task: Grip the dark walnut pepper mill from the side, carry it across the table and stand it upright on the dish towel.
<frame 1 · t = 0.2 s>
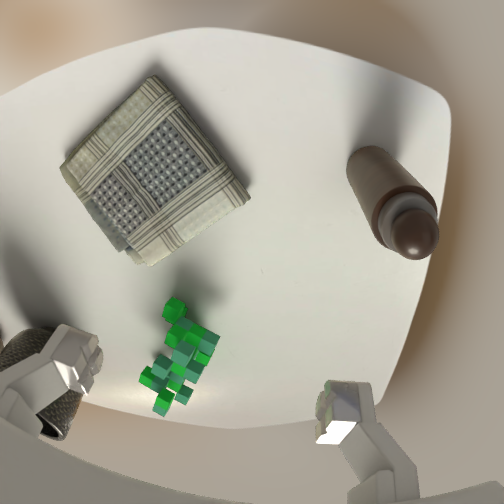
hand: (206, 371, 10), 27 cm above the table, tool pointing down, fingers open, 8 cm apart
dish towel: (146, 177, 35), on the table
planter: (61, 343, 57), on the table
pepper mill: (371, 170, 32), on the table
building blocks: (185, 336, 49), on the table
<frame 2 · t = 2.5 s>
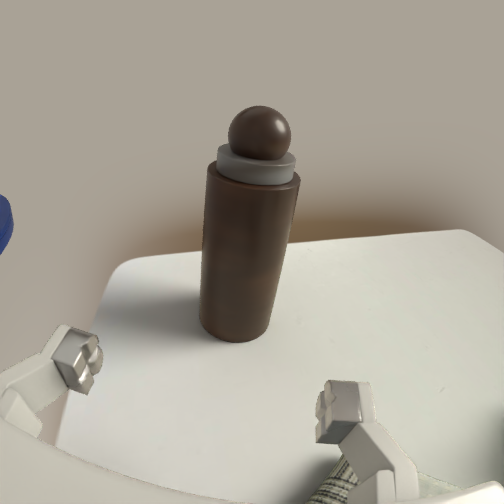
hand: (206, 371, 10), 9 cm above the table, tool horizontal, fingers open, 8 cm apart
pepper mill: (234, 316, 25), on the table
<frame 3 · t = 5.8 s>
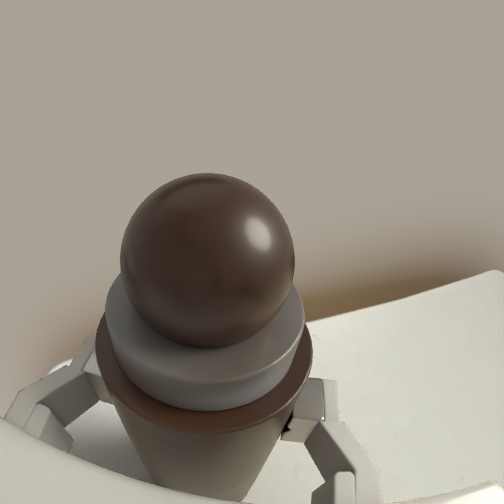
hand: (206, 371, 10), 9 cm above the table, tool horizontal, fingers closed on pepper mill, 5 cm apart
pepper mill: (202, 470, 14), on the table, touching gripper
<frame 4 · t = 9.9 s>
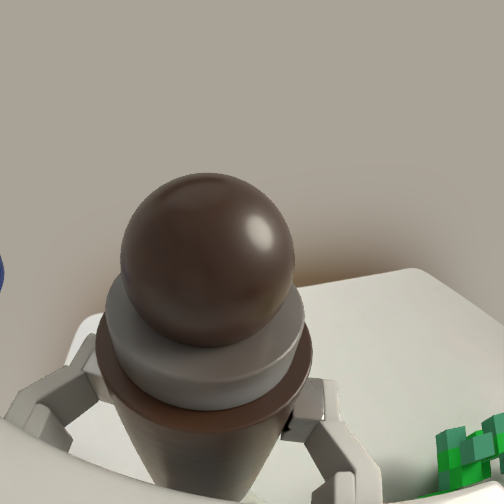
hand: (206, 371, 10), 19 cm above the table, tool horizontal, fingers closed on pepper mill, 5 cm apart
pepper mill: (202, 470, 14), point 10 cm above the table, touching gripper
building blocks: (472, 475, 21), on the table
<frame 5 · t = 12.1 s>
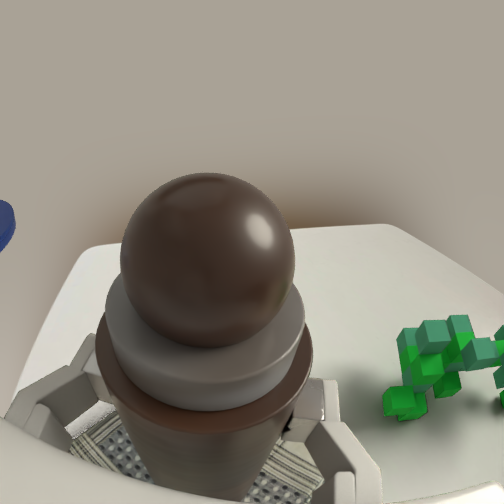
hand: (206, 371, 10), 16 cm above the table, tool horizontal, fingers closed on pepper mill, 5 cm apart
dish towel: (201, 492, 18), on the table
pepper mill: (202, 470, 14), point 7 cm above the table, touching gripper
building blocks: (444, 394, 27), on the table
when the fingers open (12 cm above the table, at t = 13.9 s): pepper mill stays where it is, resting on dish towel.
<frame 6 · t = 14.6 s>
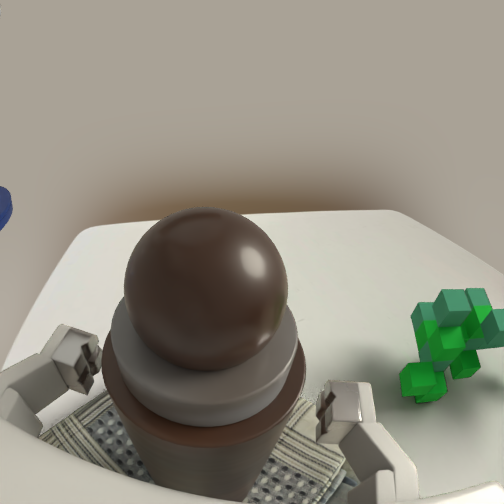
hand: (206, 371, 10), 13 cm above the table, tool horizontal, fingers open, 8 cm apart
dish towel: (202, 483, 16), on the table, touching pepper mill
pepper mill: (203, 473, 15), point 3 cm above the table, touching dish towel
building blocks: (461, 376, 26), on the table
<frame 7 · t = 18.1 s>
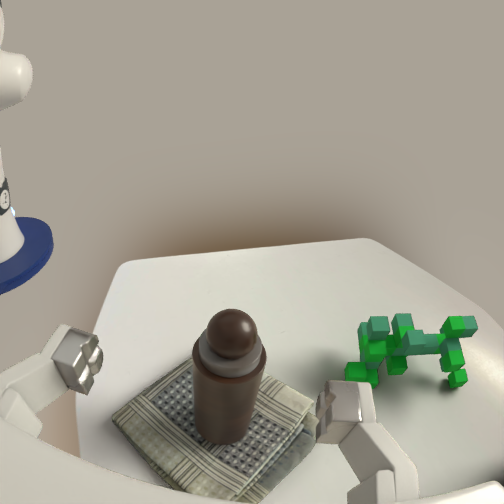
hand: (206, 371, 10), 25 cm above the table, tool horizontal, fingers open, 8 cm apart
dish towel: (220, 432, 31), on the table, touching pepper mill
pepper mill: (222, 421, 30), point 3 cm above the table, touching dish towel
building blocks: (397, 373, 40), on the table
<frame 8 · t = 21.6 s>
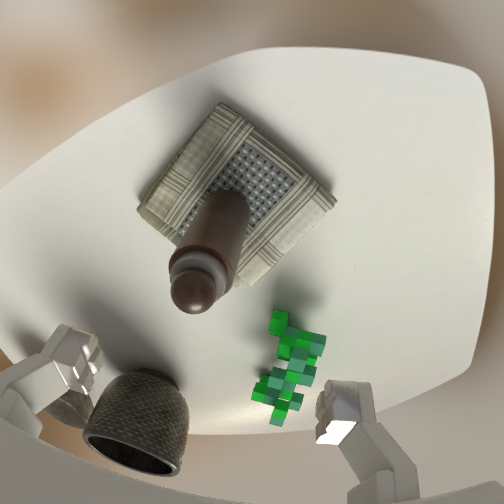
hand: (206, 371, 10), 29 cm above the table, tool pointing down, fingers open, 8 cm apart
dish towel: (231, 201, 39), on the table, touching pepper mill
planter: (155, 382, 63), on the table
pepper mill: (226, 212, 36), point 3 cm above the table, touching dish towel
building blocks: (287, 345, 51), on the table
bowl: (69, 380, 71), on the table
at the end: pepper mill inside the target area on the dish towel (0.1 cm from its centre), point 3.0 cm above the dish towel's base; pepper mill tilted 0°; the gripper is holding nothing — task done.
